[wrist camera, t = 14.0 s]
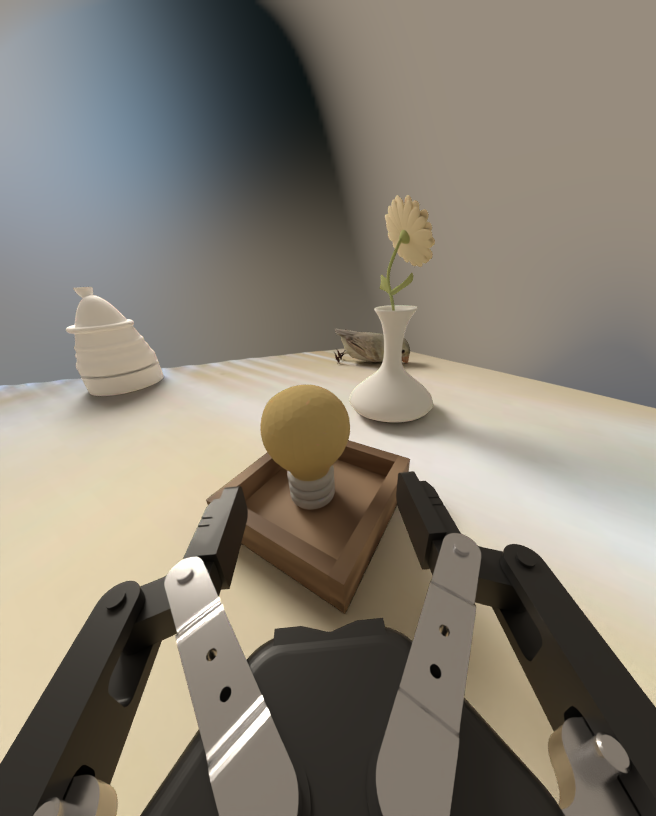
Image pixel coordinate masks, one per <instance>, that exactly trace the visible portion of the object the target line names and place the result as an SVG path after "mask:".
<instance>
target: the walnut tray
mask: <svg viewBox="0 0 656 816" xmlns="http://www.w3.org/2000/svg"><path fill="white" fill-rule="evenodd" d="M409 463H410V459H409V458H405V457H402V456H399V455H395V454H392V453H389V452H386V451H382V450H379V449H376V448H372V447H369V446H366V445H362V444H359V443H356V442H352V441H349V440H348V442H347V445H346V447H345V449H344V451H343V453H342V454H341V456H340V457H339V458H338V459H337V461H336V462H335V463H334V464H333V467H334V484H335V493H334V496H333V498H332V500H331V501H330V502H329V503H328V504H327V505H325V506H324V507H321V508H318V509H312V510H309V509H303V508H301V507H299V506H297V505H296V504H295V503H294V502H293V500H292V498H291V494H290V488H289V480H288V476H287V470H286V469H284V468H283V467H281V466H280V465H279V464H277V463H276V462H275V461H274V460H273V459H272V458H271V456H270V455H269V454H268V452H267V453H266V454H265V455H263V456H262V457H261V458H259V459H258V460H257V461H255V462H254V463H253V464H252V465H250V466H249V467H248V468H246V469H245V470H244V471H243V472H241V473H240V474H239V475H237V476H236V477H235V478H233V479H232V480H231V481H230V482H228V483H227V484H226V485H224V486H223V487H222V488H221V489H219V490H218V491H217V492H215V493H214V494H213V495H211V496H210V497H209V498H208V499H206V501H207V504H208V505H209V504H210V503H211V502H212V501H213V500H214V499H220V497H221V495H222V492H223V490H224V488H226V487H237V486H241V487H242V490H243V493H244V497H245V501H246V504H247V509H248V518H247V523H246V527H245V531H244V534H243V538H242V542H241V544H243V545H244V546H246V547H247V548H249V549H250V550H252V551H253V552H255V553H256V554H258V555H259V556H261V557H262V558H263V559H265V560H266V561H268V562H269V563H271V564H272V565H274V566H275V567H277V568H278V569H280V570H281V571H283V572H284V573H285V574H287V575H288V576H290V577H291V578H293V579H294V580H296V581H297V582H299V583H300V584H302V585H303V586H305V587H306V588H308V589H309V590H310V591H312V592H313V593H315V594H316V595H318V596H319V597H321V598H322V599H324V600H325V601H327V602H328V603H330V604H331V605H332V606H334V607H335V608H337V609H338V610H340V611H341V612H343V613H344V614H345V613H346V611H347V609H348V607H349V605H350V603H351V600H352V598H353V596H354V594H355V592H356V590H357V588H358V586H359V584H360V582H361V580H362V577H363V575H364V573H365V571H366V569H367V567H368V565H369V563H370V561H371V559H372V557H373V554H374V552H375V550H376V548H377V546H378V544H379V542H380V540H381V538H382V536H383V534H384V531H385V529H386V527H387V525H388V523H389V521H390V519H391V517H392V515H393V513H394V510H395V508H396V506H397V500H396V490H397V480H398V473H400V472H408V471H409Z"/></svg>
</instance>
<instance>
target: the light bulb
mask: <svg viewBox="0 0 656 816" xmlns="http://www.w3.org/2000/svg"><path fill="white" fill-rule="evenodd" d="M349 435H350V422H349V416H348V413H347V411H346V408H345V406H344V405H343V403H342V402H341V401H340V400H339V399H338V398H337V397H336V396H335V395H334V394H333V393H332V392H330V391H328V390H327V389H324V388H322V387H319V386H315V385H298V386H294V387H290V388H288V389H285V390H283V391H281V392H279V393H278V394H276V395H275V396H274V397H272V398H271V399H270V400H269V402H268V403H267V405H266V406H265V409H264V411H263V414H262V418H261V437H262V441H263V444H264V447H265V449H266V450H267V452H268V454H269V455H270V456H271V458H272V459H273V460H274V461H275V462H276V463H277V464H279V465H280V466H281V467H283V468H284V469H286V470H287V476H288V480H289V488H290V494H291V498H292V500H293V502H294V503H295V504H296V505H297V506H299V507H301V508H303V509H309V510H312V509H318V508H321V507H324V506H325V505H327V504H328V503H329V502H330V501H331V500H332V498H333V496H334V493H335V484H334V467H333V464H334V463H335V462H336V461H337V459H338V458H339V457H340V456H341V454H342V453H343V451H344V449H345V447H346V445H347V442H348V439H349Z"/></svg>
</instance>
